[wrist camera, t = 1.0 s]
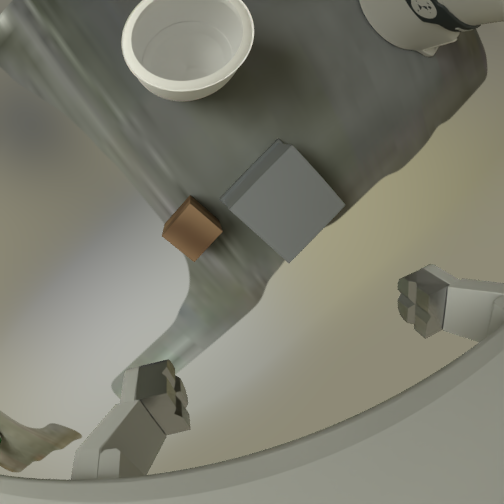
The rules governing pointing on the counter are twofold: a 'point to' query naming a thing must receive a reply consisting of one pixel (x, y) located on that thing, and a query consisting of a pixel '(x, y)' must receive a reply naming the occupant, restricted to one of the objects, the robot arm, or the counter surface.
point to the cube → (192, 229)
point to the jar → (187, 45)
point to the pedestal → (283, 200)
